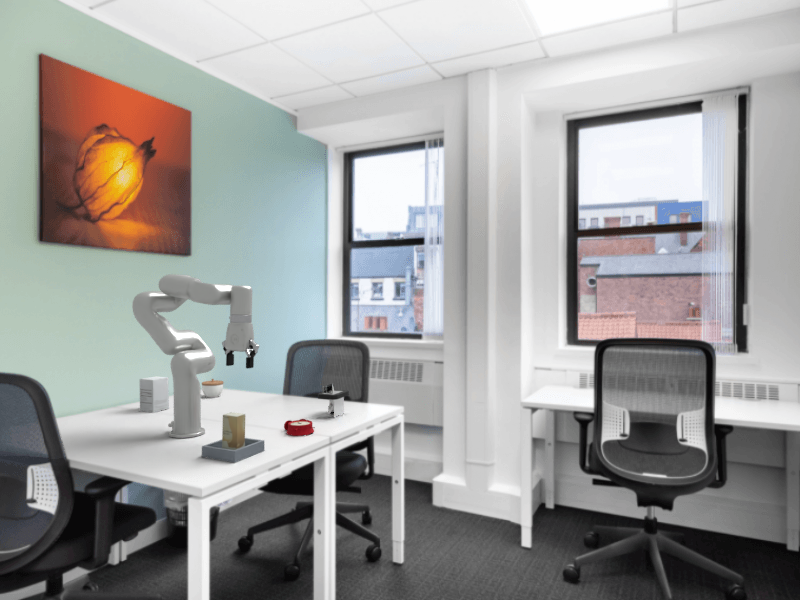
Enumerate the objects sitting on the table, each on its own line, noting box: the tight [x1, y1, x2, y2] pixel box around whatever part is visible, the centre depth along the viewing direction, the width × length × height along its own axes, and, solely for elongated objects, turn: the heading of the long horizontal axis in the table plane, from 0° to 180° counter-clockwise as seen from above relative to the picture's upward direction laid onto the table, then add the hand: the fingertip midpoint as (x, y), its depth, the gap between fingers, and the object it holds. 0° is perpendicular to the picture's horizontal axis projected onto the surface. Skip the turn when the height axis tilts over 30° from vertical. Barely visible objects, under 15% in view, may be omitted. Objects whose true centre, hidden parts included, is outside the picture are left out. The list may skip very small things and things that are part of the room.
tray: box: [201, 437, 265, 463], centre depth 175 cm, size 14×14×4 cm
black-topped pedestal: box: [317, 383, 350, 418], centre depth 232 cm, size 28×26×13 cm
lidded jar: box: [201, 378, 224, 399], centre depth 276 cm, size 11×11×9 cm
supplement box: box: [139, 375, 170, 413], centre depth 243 cm, size 9×9×15 cm
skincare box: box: [221, 411, 246, 450], centre depth 175 cm, size 6×4×12 cm
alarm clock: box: [283, 418, 316, 437], centre depth 203 cm, size 10×6×15 cm
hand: (239, 366), depth 191 cm, fingers open, 9 cm apart
